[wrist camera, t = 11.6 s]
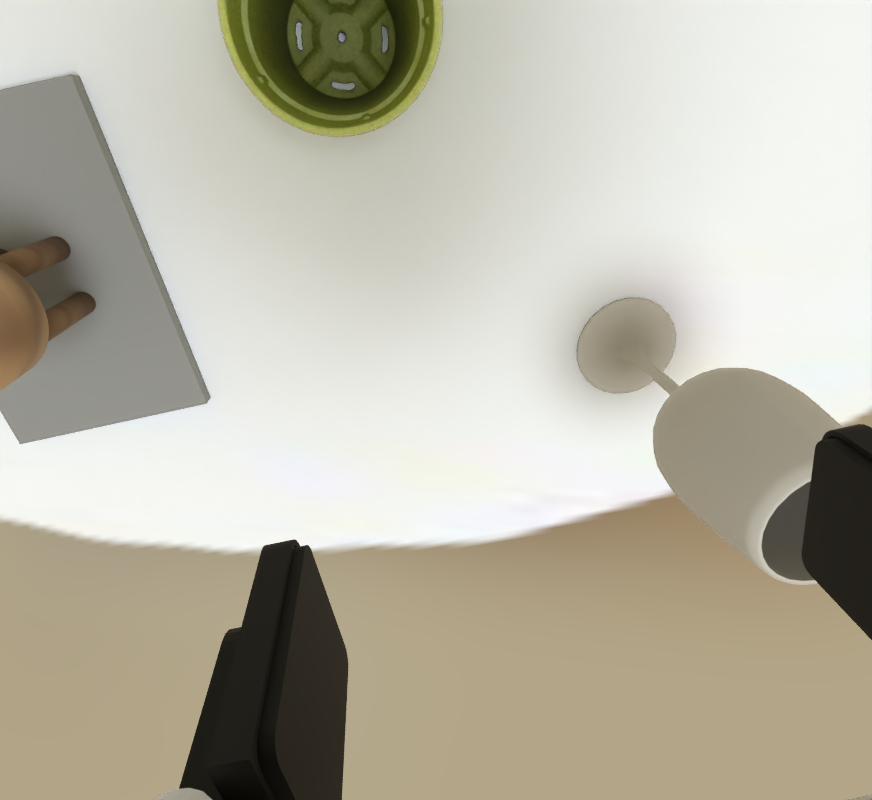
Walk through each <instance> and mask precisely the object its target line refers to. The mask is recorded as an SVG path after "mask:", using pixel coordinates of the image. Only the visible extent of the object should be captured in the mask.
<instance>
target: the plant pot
mask: <svg viewBox="0 0 872 800" xmlns="http://www.w3.org/2000/svg"><path fill="white" fill-rule="evenodd" d="M218 9H219V17H220V24H221V29H222V33H223V37H224V40H225V43H226V46H227V49H228V52H229V54H230V57H231V59H232V61H233V64H234V66H235V68H236V69H237V71H238V73H239V75H240V76H241V78H242V79H243V81H244V82H245V84H246V85H247V86H248V88H249V89H250V90H251V92H252V93H253V94H254V95H255V96H256V98H257V99H258V100H259V101H260V102H261V103H262V104H263V105H264V106H265V107H266V108H267V109H269V110H270V111H271V112H272V113H273V114H275V115H276V116H278V117H279V118H280V119H282V120H283V121H285V122H287V123H289V124H290V125H292V126H294V127H297V128H299V129H301V130H304V131H307V132H310V133H314V134H318V135H323V136H333V137H343V136H353V135H358V134H362V133H366V132H369V131H372V130H375V129H377V128H380V127H382V126H384V125H385V124H387V123H389V122H390V121H392V120H394V119H395V118H396V117H398V116H399V115H400V114H401V113H403V112H404V111H405V110H406V109H407V108H408V107H409V106H410V105H411V104H412V103H413V102H414V100H415V99H416V98H417V97H418V95H419V94H420V93H421V91H422V90H423V88H424V87H425V85H426V83H427V81H428V80H429V77H430V75H431V73H432V71H433V68H434V66H435V63H436V60H437V56H438V52H439V48H440V42H441V36H442V24H443V14H442V0H218ZM299 21H300V22H301V23H302V45H303V50H302V51H300V50H299V49H298V48H297V38H296V35H295V27H296V23H297V22H299ZM382 25H384V26H385V27H386V28H387V32H388V50H387V51H386V53H382ZM339 32H344V33H345V35H346V40H345V42H344V43H341V42H339V41H338V33H339ZM333 81H334V82H339V83H355V85H356V86H355V88H354V89H352V90H338V89H335V88H333V87H332V86H331V83H332V82H333Z"/></svg>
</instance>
